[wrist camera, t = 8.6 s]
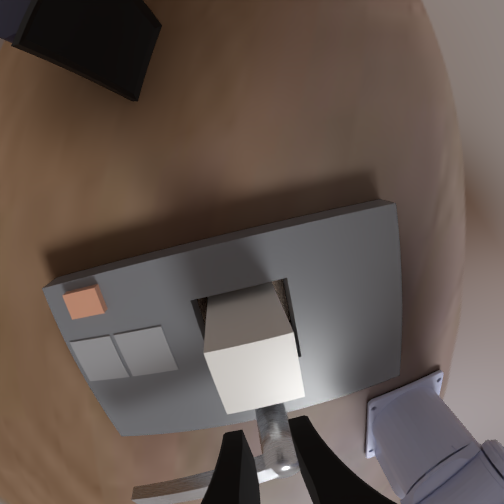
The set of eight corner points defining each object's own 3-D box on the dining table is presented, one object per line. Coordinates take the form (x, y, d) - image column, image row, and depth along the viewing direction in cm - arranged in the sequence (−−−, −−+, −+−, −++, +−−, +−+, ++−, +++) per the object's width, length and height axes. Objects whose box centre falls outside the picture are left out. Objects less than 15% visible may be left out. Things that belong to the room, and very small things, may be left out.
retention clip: (276, 390, 19) (293, 455, 13) (288, 407, 19) (306, 470, 14) (139, 439, 19) (127, 497, 14) (155, 453, 20) (147, 509, 14)
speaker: (192, 27, 14) (136, -83, 4) (136, 104, 16) (21, 51, 6) (106, -4, 13) (27, -78, 3) (58, 64, 15) (-49, 22, 5)
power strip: (388, 361, 22) (403, 379, 20) (126, 419, 21) (120, 441, 19) (380, 199, 18) (401, 204, 16) (56, 277, 18) (37, 292, 15)
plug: (282, 334, 20) (305, 396, 14) (224, 347, 20) (227, 414, 14) (270, 280, 19) (293, 332, 13) (208, 295, 19) (203, 353, 13)
